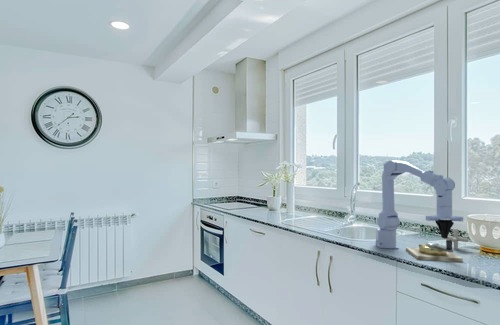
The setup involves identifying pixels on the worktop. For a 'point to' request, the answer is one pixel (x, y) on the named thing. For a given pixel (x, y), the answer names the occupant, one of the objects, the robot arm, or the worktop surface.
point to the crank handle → (436, 248)
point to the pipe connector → (456, 239)
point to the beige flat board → (433, 256)
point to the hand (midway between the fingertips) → (444, 237)
